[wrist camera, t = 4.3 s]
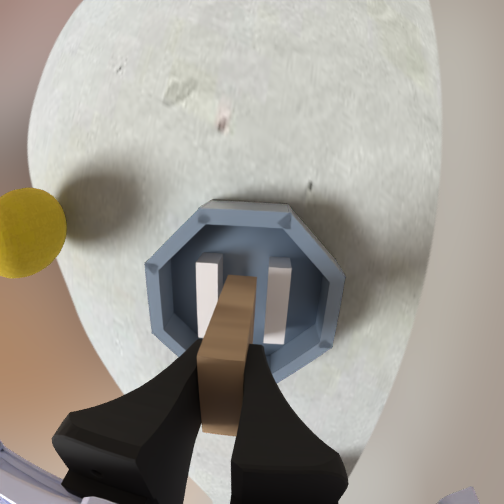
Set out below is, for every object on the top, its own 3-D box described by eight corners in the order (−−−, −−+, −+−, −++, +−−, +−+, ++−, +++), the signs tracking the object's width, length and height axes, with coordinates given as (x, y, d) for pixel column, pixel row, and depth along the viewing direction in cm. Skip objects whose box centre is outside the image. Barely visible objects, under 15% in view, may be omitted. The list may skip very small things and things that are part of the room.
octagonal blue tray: (318, 359, 20) (323, 386, 18) (170, 347, 21) (157, 372, 18) (341, 207, 17) (354, 216, 14) (160, 198, 18) (141, 205, 15)
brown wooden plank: (253, 341, 17) (240, 436, 10) (226, 338, 17) (202, 432, 10) (257, 276, 15) (244, 361, 9) (227, 274, 16) (196, 356, 9)
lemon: (29, 231, 19) (-43, 262, 12) (47, 168, 18) (-35, 183, 10) (74, 268, 20) (4, 315, 12) (97, 204, 18) (14, 233, 10)
